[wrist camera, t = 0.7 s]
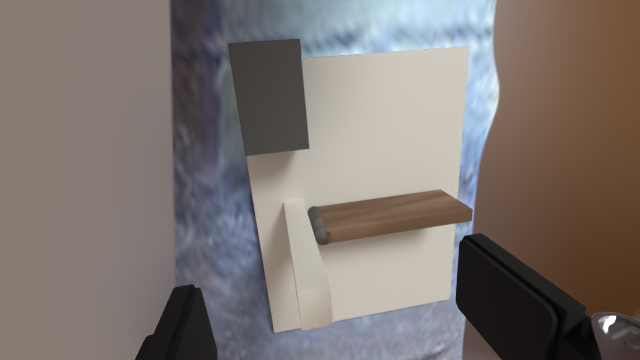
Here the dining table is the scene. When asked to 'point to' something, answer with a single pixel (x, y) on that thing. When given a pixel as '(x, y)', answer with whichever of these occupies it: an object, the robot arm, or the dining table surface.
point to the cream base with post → (362, 185)
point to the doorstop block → (270, 95)
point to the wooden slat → (386, 216)
